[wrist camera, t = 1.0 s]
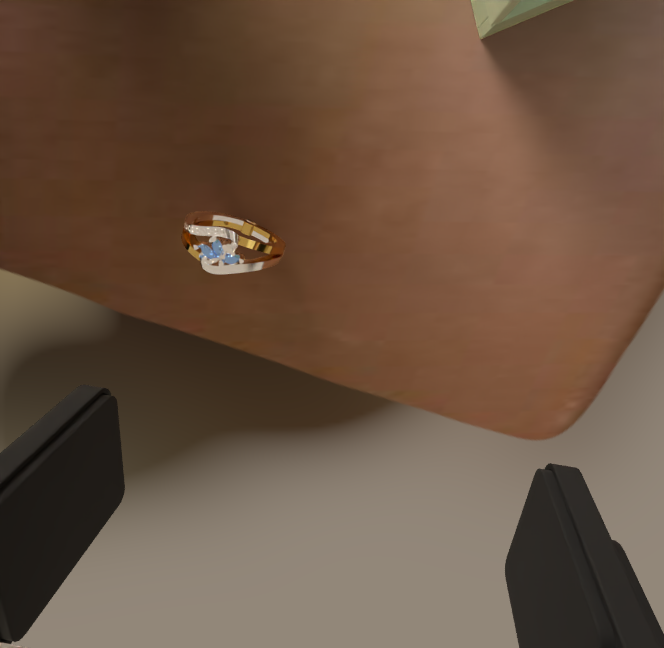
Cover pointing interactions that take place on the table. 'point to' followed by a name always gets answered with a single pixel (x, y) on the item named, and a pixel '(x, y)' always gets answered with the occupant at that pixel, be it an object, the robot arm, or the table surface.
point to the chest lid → (499, 9)
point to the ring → (229, 243)
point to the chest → (511, 14)
